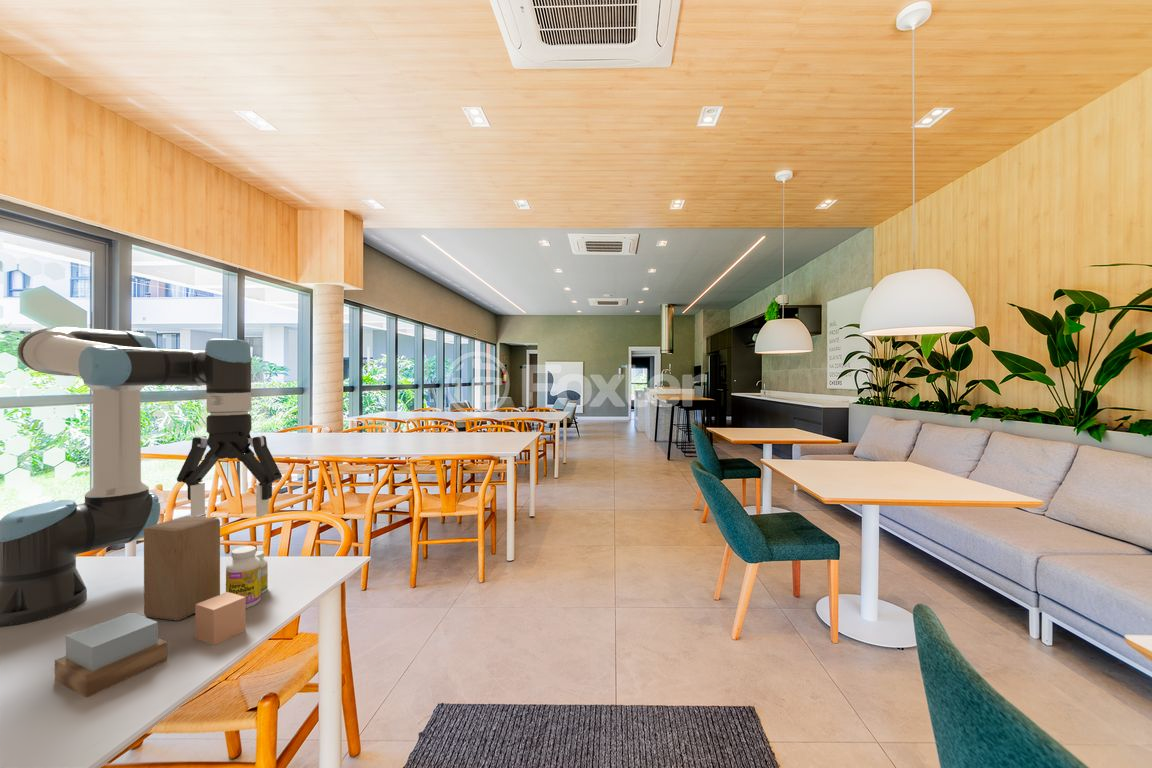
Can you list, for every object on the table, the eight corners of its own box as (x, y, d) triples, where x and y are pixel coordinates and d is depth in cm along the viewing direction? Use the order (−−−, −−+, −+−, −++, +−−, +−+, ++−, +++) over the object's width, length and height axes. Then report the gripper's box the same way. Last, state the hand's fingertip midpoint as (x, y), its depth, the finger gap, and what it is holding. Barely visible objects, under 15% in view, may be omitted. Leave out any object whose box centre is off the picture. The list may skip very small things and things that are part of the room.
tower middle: (66, 658, 81) (65, 635, 81) (131, 632, 90) (131, 612, 90) (92, 671, 78) (91, 647, 78) (157, 643, 86) (157, 622, 86)
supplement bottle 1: (221, 613, 104) (221, 556, 104) (230, 600, 110) (230, 546, 110) (257, 607, 107) (257, 552, 107) (263, 595, 113) (263, 542, 113)
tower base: (54, 683, 81) (54, 660, 81) (134, 649, 91) (134, 629, 91) (86, 700, 77) (86, 676, 77) (166, 663, 87) (166, 641, 87)
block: (178, 623, 100) (178, 530, 100) (141, 618, 102) (141, 527, 102) (222, 601, 110) (222, 517, 110) (187, 597, 112) (187, 514, 112)
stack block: (195, 638, 94) (195, 604, 94) (227, 624, 100) (227, 591, 100) (213, 645, 92) (213, 610, 92) (245, 630, 97) (245, 597, 97)
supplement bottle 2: (272, 588, 117) (272, 550, 117) (253, 598, 111) (253, 558, 111) (255, 586, 118) (255, 548, 118) (235, 595, 113) (235, 556, 113)
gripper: (153, 415, 93) (154, 520, 93) (277, 414, 93) (278, 520, 93) (185, 412, 101) (186, 510, 101) (299, 412, 100) (300, 510, 100)
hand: (230, 515), depth 97 cm, fingers open, 13 cm apart
